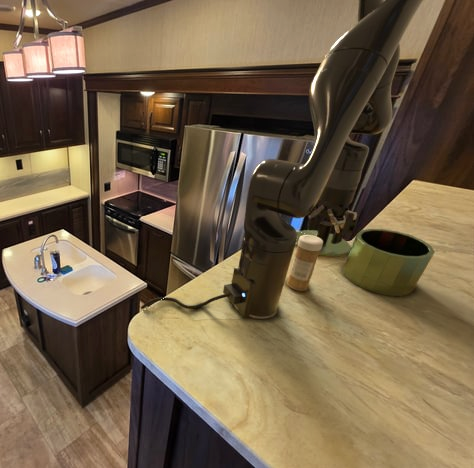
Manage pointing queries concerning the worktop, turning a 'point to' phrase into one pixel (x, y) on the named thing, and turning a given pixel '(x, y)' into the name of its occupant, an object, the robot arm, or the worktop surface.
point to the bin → (387, 261)
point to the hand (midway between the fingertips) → (322, 236)
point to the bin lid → (327, 240)
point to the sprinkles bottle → (304, 262)
